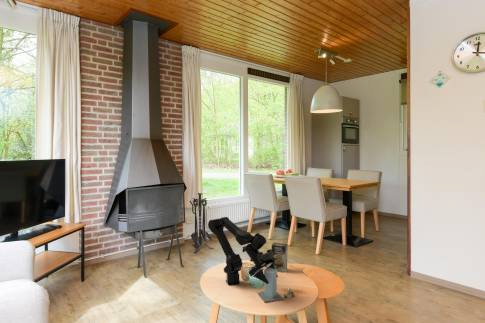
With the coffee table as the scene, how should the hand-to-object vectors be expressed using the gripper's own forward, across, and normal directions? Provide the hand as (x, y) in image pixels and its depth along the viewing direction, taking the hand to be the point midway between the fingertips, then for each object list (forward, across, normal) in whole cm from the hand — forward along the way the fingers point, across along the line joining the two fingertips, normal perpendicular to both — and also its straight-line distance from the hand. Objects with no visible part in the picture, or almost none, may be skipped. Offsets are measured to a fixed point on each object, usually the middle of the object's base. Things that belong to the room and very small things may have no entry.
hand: (272, 280), depth 152 cm
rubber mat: (+5, 0, +7) cm, 9 cm away
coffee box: (-4, +35, +17) cm, 39 cm away
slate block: (+5, 0, +7) cm, 8 cm away
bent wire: (+10, +6, +2) cm, 12 cm away
